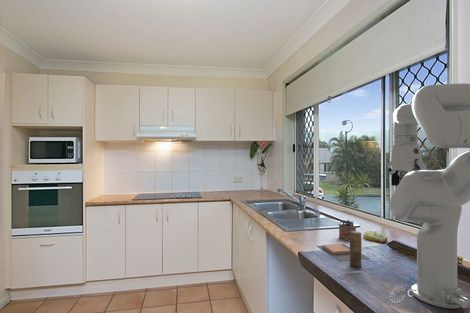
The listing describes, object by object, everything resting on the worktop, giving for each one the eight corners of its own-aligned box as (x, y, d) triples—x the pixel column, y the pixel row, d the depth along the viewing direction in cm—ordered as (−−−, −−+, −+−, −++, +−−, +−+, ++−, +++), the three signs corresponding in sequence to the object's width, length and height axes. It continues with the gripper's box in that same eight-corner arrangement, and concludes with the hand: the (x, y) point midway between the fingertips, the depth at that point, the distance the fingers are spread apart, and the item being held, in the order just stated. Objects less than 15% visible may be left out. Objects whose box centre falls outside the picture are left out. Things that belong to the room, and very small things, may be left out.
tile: (351, 250, 114) (333, 251, 112) (351, 253, 114) (333, 255, 112) (339, 243, 122) (322, 244, 121) (339, 246, 122) (322, 247, 121)
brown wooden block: (363, 269, 100) (363, 233, 100) (354, 269, 99) (353, 234, 99) (357, 264, 103) (357, 231, 103) (347, 265, 103) (347, 231, 103)
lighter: (356, 240, 133) (356, 220, 133) (355, 242, 130) (355, 222, 130) (339, 238, 137) (339, 218, 137) (338, 240, 134) (338, 220, 134)
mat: (371, 260, 107) (371, 259, 107) (339, 263, 105) (339, 261, 105) (343, 245, 126) (343, 244, 126) (316, 247, 124) (316, 245, 124)
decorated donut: (386, 245, 127) (386, 237, 127) (361, 241, 133) (361, 233, 133) (388, 239, 135) (388, 232, 135) (365, 236, 141) (365, 228, 141)
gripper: (434, 139, 93) (435, 189, 93) (396, 142, 110) (396, 184, 110) (416, 139, 91) (416, 189, 91) (380, 142, 108) (380, 184, 108)
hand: (405, 186), depth 101 cm, fingers open, 9 cm apart
